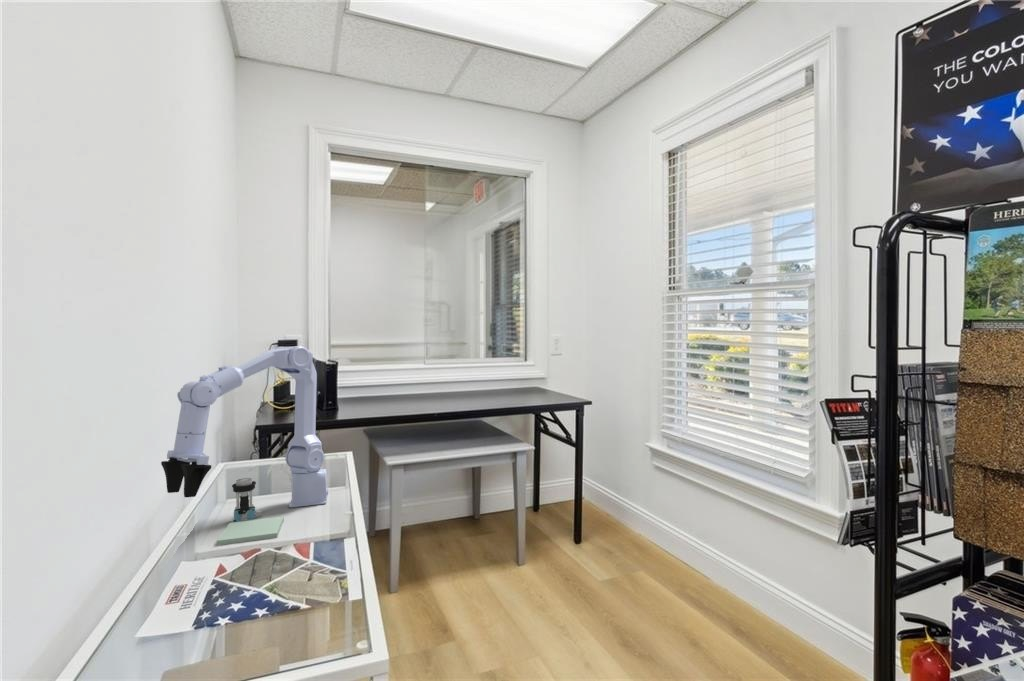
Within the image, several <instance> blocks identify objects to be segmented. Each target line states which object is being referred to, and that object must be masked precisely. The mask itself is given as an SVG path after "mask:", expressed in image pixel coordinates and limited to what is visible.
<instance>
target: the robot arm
mask: <svg viewBox="0 0 1024 681" xmlns="http://www.w3.org/2000/svg"><path fill="white" fill-rule="evenodd" d="M313 356H314V355H313V353H312V352H311V351H310V350H309V349H308V348H306V346H303V345H295V346H277V347H275V348H273V349H272V348H271V349H269V350H266V351H265V352H264V353H261V354H259V355H258V356H256V357H254V358H251V359H250V360H248V361H246V362H244V363H242V364H240V365H238V366H237V367H236V366H232V365H227V366H226V365H221V366H219V367H218V370H217V371H214V372H212V373H210V374H208V375H201V376H199V380H198V381H189V382H186V383H185V384H184V385H182V387H181V388H180V390H179V391H177V398H178V401H179V402H180V410H179V416H178V422H177V427H176V434H175V441H174V445H173V450H172V449H171V450H170V449H169V450H167V454H166V459H167V460H163V461H161V462H160V464H161V467H162V469H163V471H164V475H165V481H166V492H167V494H172V493H174V494H175V493H179V492H180V490H181V488H182V483H183V496H184V498H193V497H196V496H197V494H198V492H199V489H200V487H201V485H202V483H203V480H204V479H205V477H206V476H207V475H208V473H209V471H210V470H211V469H212V465H211V464H209V459H210V455H209V454H208V455H207V454H205V453H204V448H205V447H204V446H205V441H206V435H207V434H206V433H207V428H208V422H209V417H210V415H209V414H210V409H211V405H213V404H214V403H215V402H216V401H217V399H218V398H220V397H222V396H223V395H225V394H227V393H228V394H229V393H230V392H231V391H233V390H235V389H237V388H239V387H241V386H242V385H243V382H244V380H245V379H247V378H249V377H251V376H254V375H255V374H257V373H261V372H262V371H265V370H267V369H268V368H269V369H270V368H271V367H274V368H276V369H277V370H280V371H282V372H284V373H287V374H288V375H289V376H291V378H293V379H294V380H295V390H294V391H295V395H294V396H295V397H294V408H295V409H294V435H293V437H292V438H291V439H290V441H289V442H288V448H287V451H286V453H285V460H284V461H285V462H286V465H287V466H288V467H289V470H290V471H291V473H290V476H291V477H290V478H291V500H290V501H289V504H288V508H299V507H306V506H313V505H315V506H316V505H323V504H326V503H327V500H328V495H329V488H328V475H327V474H328V473H327V472H328V471H327V468H321V467H322V466H323V464H324V462H325V452H324V450H323V443H322V442H321V440H320V439H319V437H318V436H317V435H316V427H317V425H316V424H317V422H316V421H317V420H316V419H317V418H316V417H317V386H318V383H317V378H318V374H317V370H316V368H315V364H314V362H313Z"/></svg>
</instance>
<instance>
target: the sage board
mask: <svg viewBox="0 0 1024 681" xmlns="http://www.w3.org/2000/svg"><path fill="white" fill-rule="evenodd" d="M284 521H285V516H279V517H278V516H276V517H268V518H260V519H251V520H245V521H238V522H234V521H233V522H229V523H228V525H227V526H226V528H225V529H224V531H223V532H222V533H221V535H220V536H219V537H218V538H217V540H216V545H217V546H223V545H229V544H231V545H232V544H236V543H237V544H238V543H245V542H246V543H247V542H253V541H259V540H267V539H268V540H269V539H274V538H278V537H279V534H280V531H281V528H282V526H283V524H284Z"/></svg>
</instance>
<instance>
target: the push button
mask: <svg viewBox="0 0 1024 681" xmlns="http://www.w3.org/2000/svg"><path fill="white" fill-rule="evenodd" d="M256 484H257V482H256V481H255V480H253V479H252V478H250V477H245V478H239V479H237V480H235V483H234V484H232V485H231V487H232V492H233V493H235V494H236V496H235V497H236V498H235V500H236V503H235V504H236V506H235V507H234V510H233V523H234V522H242V521H250V520H255V518H256V517H258V516H263V513H261V512H263V510H262V509H261V510H256V506H255V505H254V504H253V490H255V489H256ZM256 513H260V514H256Z"/></svg>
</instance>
